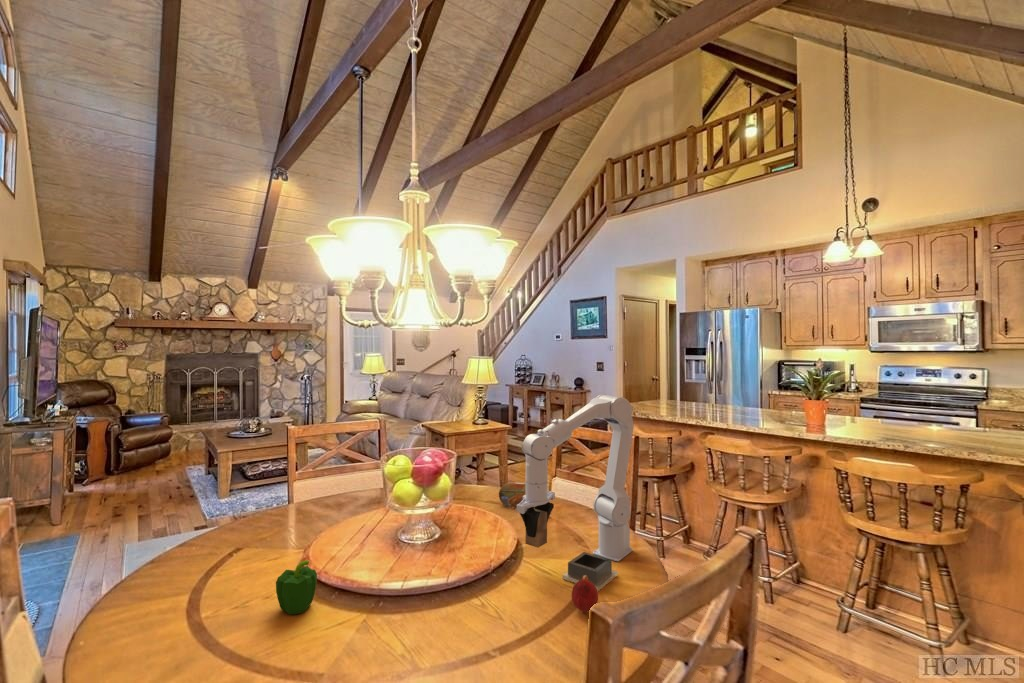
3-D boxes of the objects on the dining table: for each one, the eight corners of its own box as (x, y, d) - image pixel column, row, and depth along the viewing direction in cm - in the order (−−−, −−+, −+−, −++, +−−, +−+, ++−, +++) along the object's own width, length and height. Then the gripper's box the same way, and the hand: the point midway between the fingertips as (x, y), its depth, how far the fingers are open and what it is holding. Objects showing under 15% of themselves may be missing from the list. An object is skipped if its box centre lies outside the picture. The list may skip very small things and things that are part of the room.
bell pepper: (276, 623, 104) (276, 575, 104) (275, 604, 111) (275, 560, 111) (319, 613, 108) (319, 567, 108) (315, 595, 115) (315, 553, 115)
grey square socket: (582, 564, 132) (582, 549, 132) (617, 575, 125) (617, 559, 125) (562, 578, 124) (562, 562, 124) (598, 591, 118) (598, 574, 118)
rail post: (534, 538, 131) (534, 508, 131) (546, 542, 129) (547, 511, 129) (525, 543, 128) (525, 512, 128) (538, 547, 126) (538, 516, 126)
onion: (597, 621, 105) (597, 583, 105) (570, 618, 106) (570, 581, 106) (598, 607, 111) (598, 571, 111) (572, 604, 112) (572, 568, 112)
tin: (498, 506, 178) (498, 482, 178) (500, 503, 181) (500, 480, 181) (540, 508, 175) (540, 485, 175) (541, 505, 178) (541, 482, 178)
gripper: (539, 472, 137) (539, 522, 137) (507, 484, 125) (507, 538, 125) (561, 477, 132) (561, 528, 132) (529, 490, 121) (529, 545, 121)
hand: (536, 533), depth 129 cm, fingers closed on rail post, 4 cm apart
